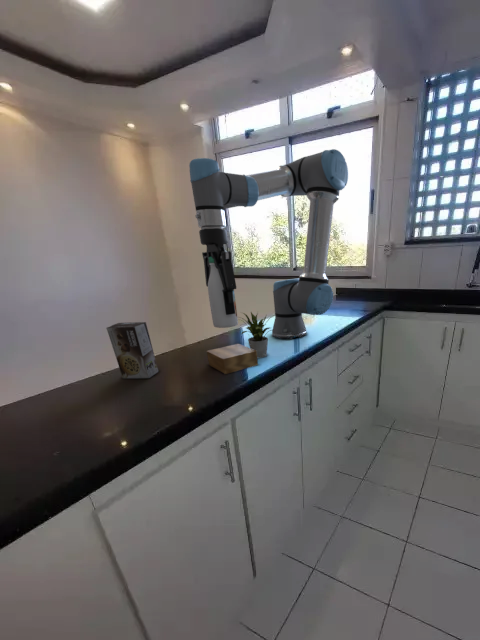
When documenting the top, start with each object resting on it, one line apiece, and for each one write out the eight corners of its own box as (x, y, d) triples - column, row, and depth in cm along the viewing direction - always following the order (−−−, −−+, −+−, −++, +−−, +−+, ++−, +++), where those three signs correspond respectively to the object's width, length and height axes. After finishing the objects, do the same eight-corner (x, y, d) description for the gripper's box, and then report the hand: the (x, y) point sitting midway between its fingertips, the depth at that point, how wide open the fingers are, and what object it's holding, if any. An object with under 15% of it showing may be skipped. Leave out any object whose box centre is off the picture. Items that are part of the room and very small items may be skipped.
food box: (159, 371, 101) (147, 321, 94) (149, 378, 95) (134, 326, 88) (133, 371, 102) (119, 322, 95) (121, 378, 96) (105, 326, 89)
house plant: (228, 357, 111) (221, 311, 104) (254, 347, 121) (250, 304, 114) (257, 364, 104) (253, 315, 97) (283, 353, 114) (280, 307, 107)
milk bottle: (235, 328, 95) (226, 256, 86) (210, 328, 95) (198, 257, 86) (240, 322, 101) (232, 255, 93) (217, 323, 102) (207, 256, 93)
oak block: (240, 357, 112) (238, 343, 109) (258, 365, 103) (256, 350, 101) (208, 365, 105) (206, 350, 103) (225, 374, 97) (223, 359, 94)
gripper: (185, 231, 91) (199, 310, 101) (216, 225, 77) (229, 318, 87) (209, 231, 95) (220, 307, 106) (242, 226, 81) (251, 314, 91)
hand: (224, 312), depth 96 cm, fingers closed on milk bottle, 8 cm apart
